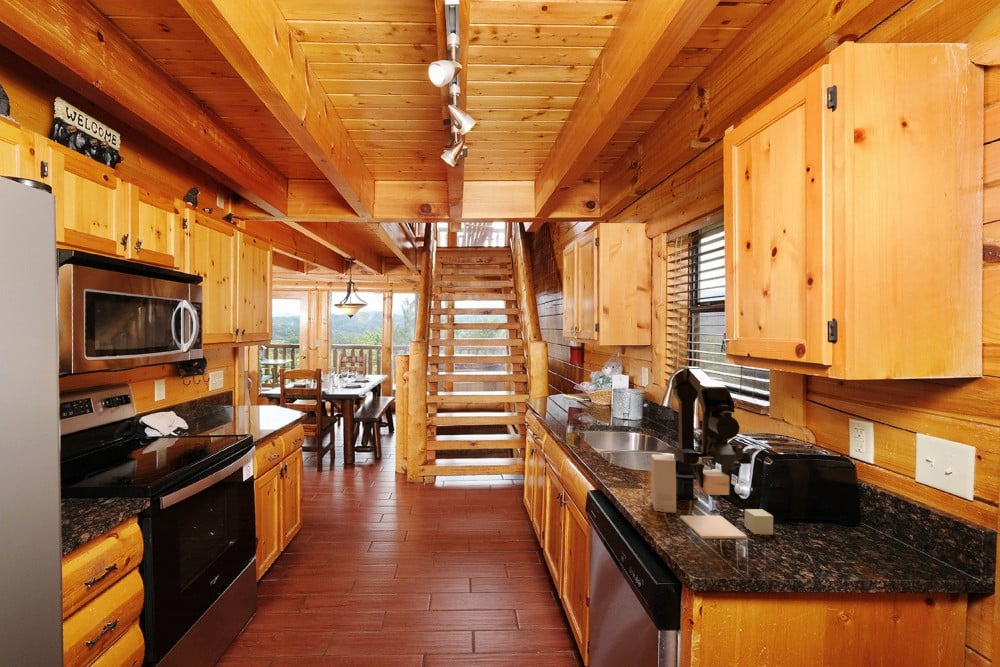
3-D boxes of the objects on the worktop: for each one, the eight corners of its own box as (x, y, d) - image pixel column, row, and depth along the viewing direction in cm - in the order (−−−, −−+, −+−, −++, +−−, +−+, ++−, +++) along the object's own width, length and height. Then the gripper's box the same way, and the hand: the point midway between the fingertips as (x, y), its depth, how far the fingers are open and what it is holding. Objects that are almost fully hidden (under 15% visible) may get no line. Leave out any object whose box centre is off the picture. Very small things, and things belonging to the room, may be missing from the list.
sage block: (744, 527, 133) (744, 509, 133) (762, 527, 133) (762, 509, 133) (754, 534, 128) (754, 516, 128) (772, 534, 128) (773, 516, 128)
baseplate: (679, 517, 139) (679, 515, 139) (720, 517, 140) (720, 515, 140) (701, 538, 125) (701, 536, 125) (746, 538, 126) (746, 536, 126)
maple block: (697, 487, 135) (697, 469, 135) (718, 487, 135) (718, 469, 135) (707, 494, 129) (707, 476, 129) (729, 494, 129) (729, 476, 129)
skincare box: (676, 513, 142) (677, 461, 142) (653, 511, 144) (653, 459, 144) (672, 503, 151) (672, 454, 151) (650, 502, 152) (650, 453, 152)
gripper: (693, 437, 124) (692, 497, 124) (763, 437, 125) (762, 497, 125) (675, 428, 135) (675, 483, 135) (740, 428, 136) (739, 483, 136)
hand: (712, 487), depth 132 cm, fingers closed on maple block, 6 cm apart
